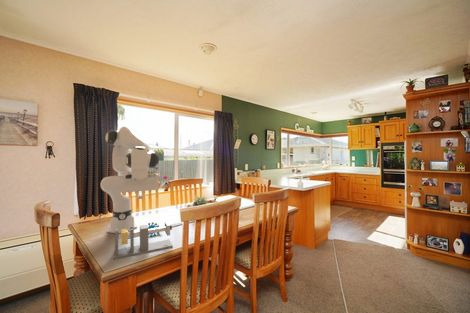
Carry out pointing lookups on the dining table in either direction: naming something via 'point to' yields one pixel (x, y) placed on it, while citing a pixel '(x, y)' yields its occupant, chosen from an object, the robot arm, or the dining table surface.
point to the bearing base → (143, 246)
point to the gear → (152, 227)
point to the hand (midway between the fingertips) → (140, 198)
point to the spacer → (124, 236)
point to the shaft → (153, 230)
